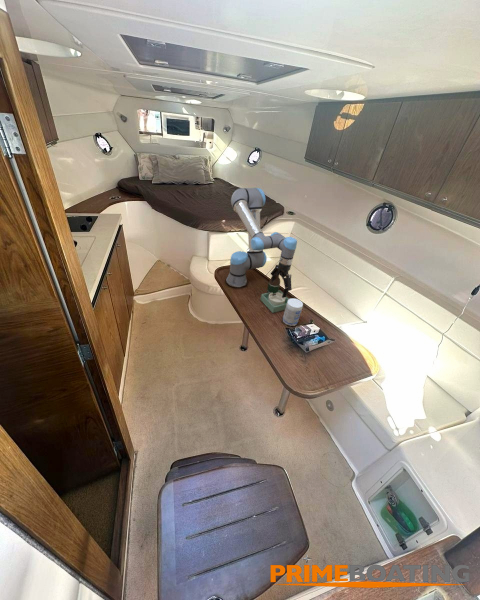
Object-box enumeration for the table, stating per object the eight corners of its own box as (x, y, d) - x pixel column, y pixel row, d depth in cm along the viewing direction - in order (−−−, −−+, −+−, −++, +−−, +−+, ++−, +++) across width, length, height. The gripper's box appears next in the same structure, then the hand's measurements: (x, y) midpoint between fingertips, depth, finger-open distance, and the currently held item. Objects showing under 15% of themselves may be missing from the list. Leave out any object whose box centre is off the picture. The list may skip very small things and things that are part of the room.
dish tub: (260, 299, 172) (261, 294, 169) (278, 295, 178) (279, 290, 175) (272, 312, 161) (273, 307, 159) (291, 307, 168) (292, 302, 165)
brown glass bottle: (277, 299, 173) (284, 269, 159) (266, 298, 173) (272, 268, 159) (276, 293, 180) (283, 263, 165) (265, 292, 179) (271, 262, 165)
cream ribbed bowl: (264, 299, 171) (265, 293, 168) (277, 296, 176) (279, 290, 173) (273, 309, 163) (274, 303, 160) (287, 306, 168) (288, 300, 165)
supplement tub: (294, 328, 151) (300, 310, 143) (280, 322, 155) (285, 304, 146) (299, 320, 158) (305, 301, 150) (285, 314, 162) (290, 296, 153)
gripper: (269, 254, 158) (263, 281, 171) (292, 274, 141) (284, 303, 154) (278, 252, 161) (272, 280, 174) (302, 272, 144) (293, 301, 157)
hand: (278, 291), depth 164 cm, fingers open, 13 cm apart
